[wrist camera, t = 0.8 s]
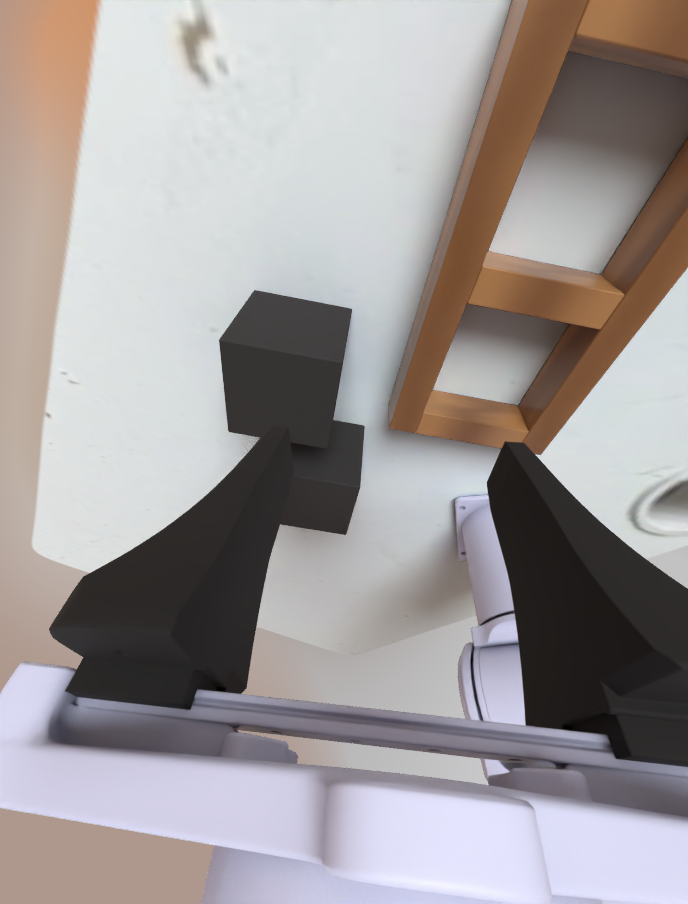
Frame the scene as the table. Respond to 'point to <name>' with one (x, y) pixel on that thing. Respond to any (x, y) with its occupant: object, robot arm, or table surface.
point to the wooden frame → (531, 282)
